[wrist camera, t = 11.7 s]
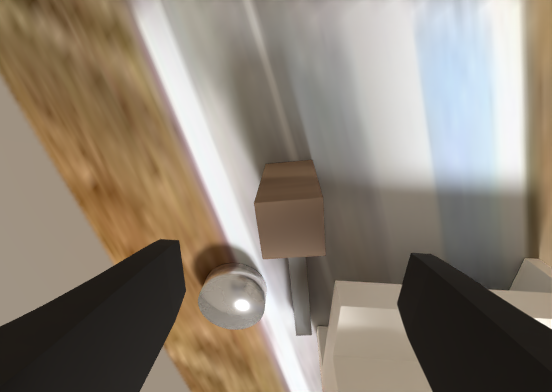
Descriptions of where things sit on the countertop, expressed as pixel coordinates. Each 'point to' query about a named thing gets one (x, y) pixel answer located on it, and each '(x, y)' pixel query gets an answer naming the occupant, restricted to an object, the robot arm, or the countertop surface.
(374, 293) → the stepped stand
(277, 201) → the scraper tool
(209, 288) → the steel puck
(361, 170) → the countertop surface
